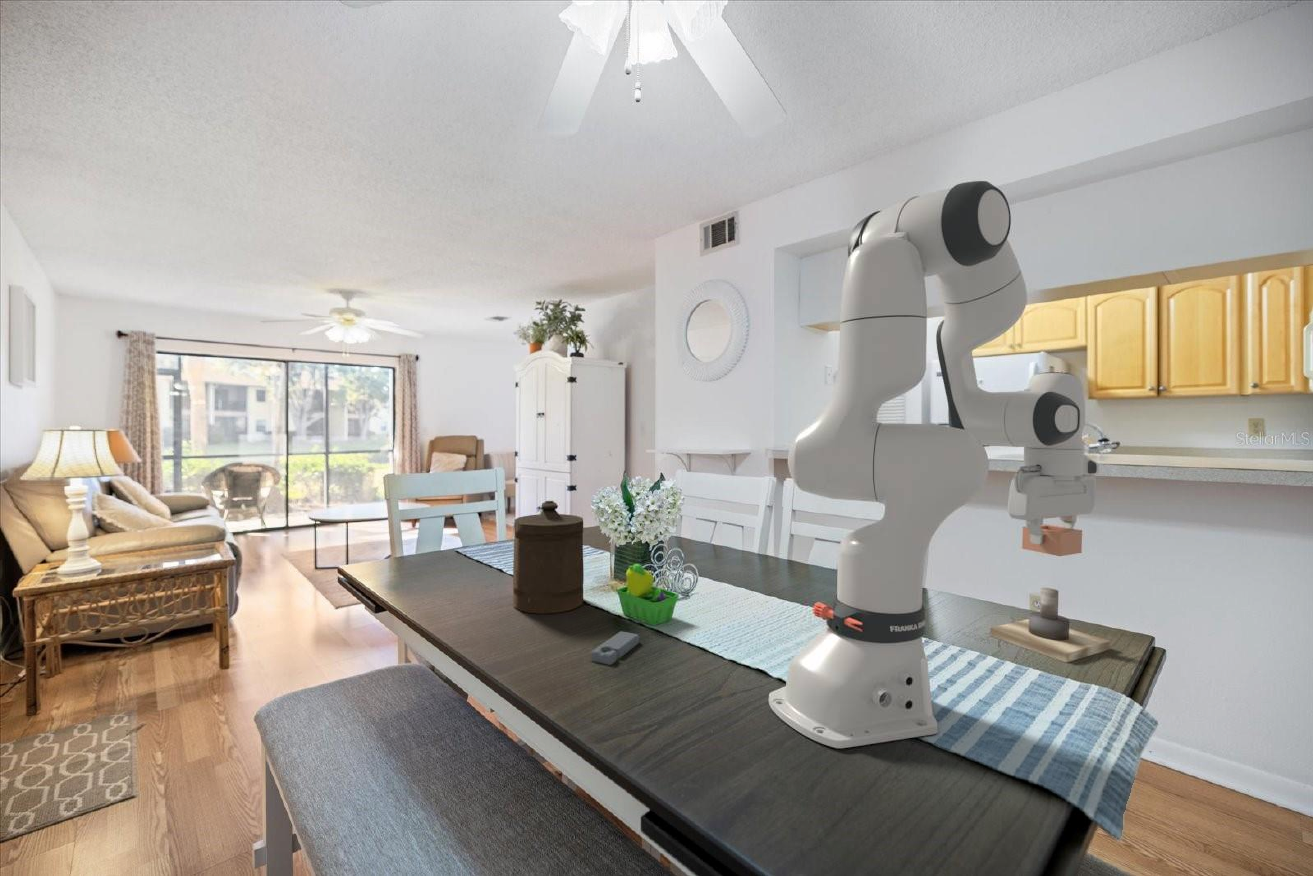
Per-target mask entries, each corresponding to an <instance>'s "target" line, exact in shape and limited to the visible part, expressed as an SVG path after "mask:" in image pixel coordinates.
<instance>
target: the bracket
mask: <svg viewBox="0 0 1313 876" xmlns="http://www.w3.org/2000/svg"><path fill="white" fill-rule="evenodd" d="M638 644H640V635H639V634H637V633H633V632H627V631H622V630H621V631H619V632H617V633H616V634H614V635H613V636H611V637H610V638H608V639H607V640H606V641H604V642H603V643H602V644H600V645H599V646H597V647H596V648H594V649H592V650H591V651H590V661H591V662H596V663H600V664H604V665H611V666H612V665H613V664H614V663H616V662H617V659H620V658H622V657H623V656H625V654H627V653H629V652H630V651H631V650H632V649H633V648H635V647H636V646H637V645H638Z"/></svg>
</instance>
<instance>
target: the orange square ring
mask: <svg viewBox="0 0 1313 876" xmlns="http://www.w3.org/2000/svg"><path fill="white" fill-rule="evenodd" d="M1041 528H1042V532H1043V534H1046V538H1045V543H1044V544H1033V543H1031V542H1030V532H1029V530H1028V527H1027V525H1026V526H1022V538H1021V539H1022V540H1021V541H1022V545H1021V547H1022V550H1027V551H1032V552H1037V553H1041V554H1046V555H1047V554H1048V555H1052V556H1057V557H1065V556H1070V555H1076V554H1082V550H1083V548H1082V547H1083V546H1082V545H1083V544H1082V543H1083V529H1077V528H1073V529H1071V528H1065V527H1060V525H1059V526H1058V525H1053V524H1052V525H1050V524H1044V523H1043V525H1041Z"/></svg>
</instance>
